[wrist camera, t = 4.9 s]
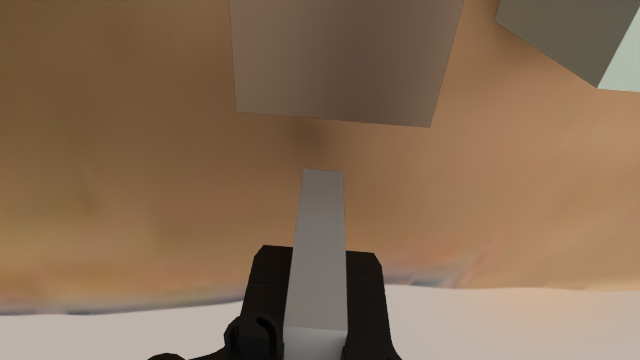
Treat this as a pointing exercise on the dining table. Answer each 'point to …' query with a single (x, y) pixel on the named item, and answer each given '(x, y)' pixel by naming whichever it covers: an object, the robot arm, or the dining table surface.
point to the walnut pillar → (342, 58)
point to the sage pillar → (582, 36)
